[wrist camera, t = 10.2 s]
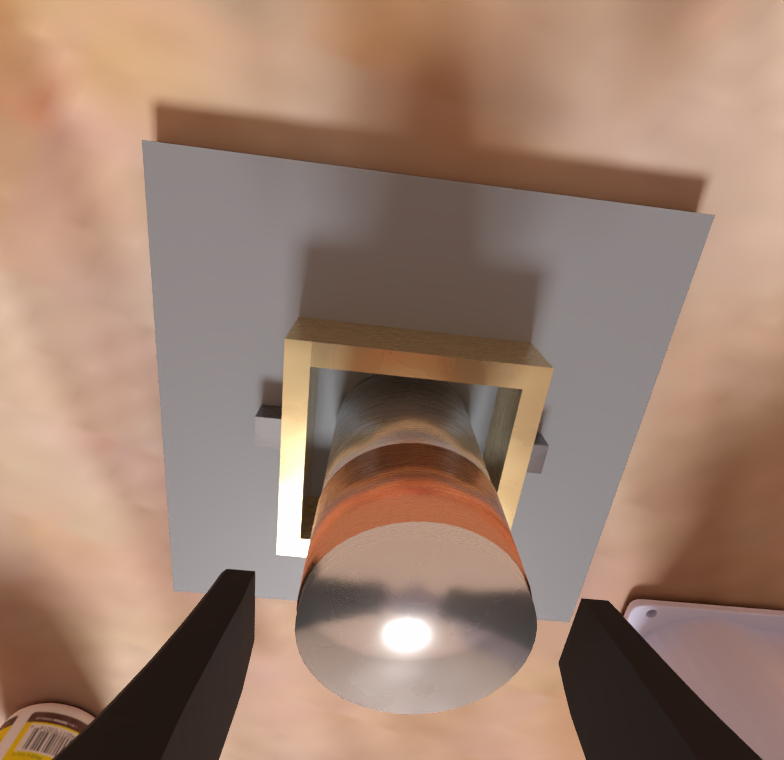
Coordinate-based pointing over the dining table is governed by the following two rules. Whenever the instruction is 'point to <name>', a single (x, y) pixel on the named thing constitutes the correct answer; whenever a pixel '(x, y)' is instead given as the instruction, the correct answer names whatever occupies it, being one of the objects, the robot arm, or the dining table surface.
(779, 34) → the dining table surface
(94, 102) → the dining table surface
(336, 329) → the square hollow frame
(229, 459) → the socket base
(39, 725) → the supplement bottle
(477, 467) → the silver tin
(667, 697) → the robot arm
